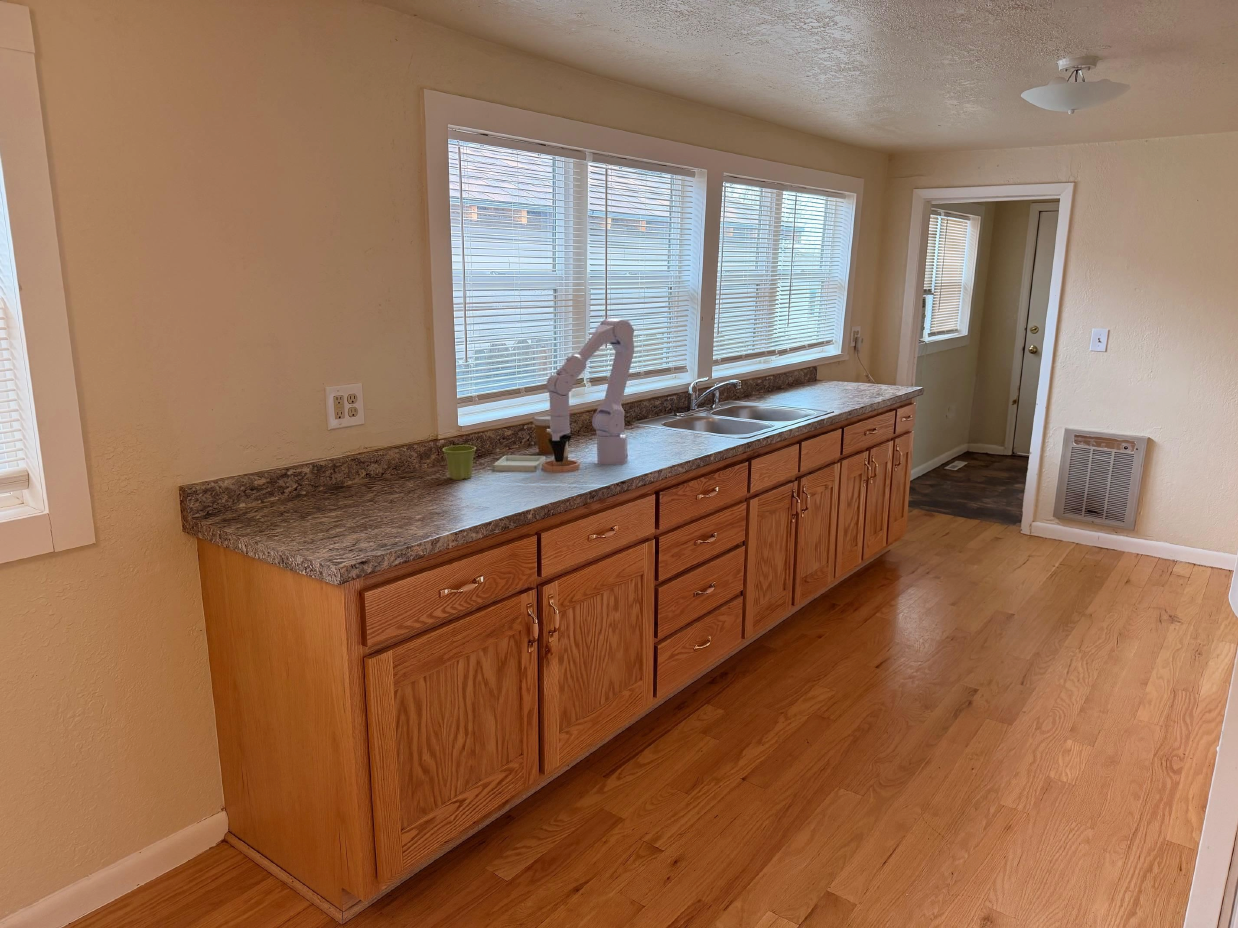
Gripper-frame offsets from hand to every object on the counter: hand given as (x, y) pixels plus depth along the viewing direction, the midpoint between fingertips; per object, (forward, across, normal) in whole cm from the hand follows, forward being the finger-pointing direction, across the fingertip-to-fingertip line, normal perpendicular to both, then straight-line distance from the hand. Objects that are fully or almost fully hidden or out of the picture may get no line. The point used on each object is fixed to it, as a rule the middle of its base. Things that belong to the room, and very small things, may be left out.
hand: (560, 460), depth 255 cm
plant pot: (+3, +13, -27) cm, 30 cm away
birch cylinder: (+2, 0, 0) cm, 2 cm away
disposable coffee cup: (+3, -25, -9) cm, 27 cm away
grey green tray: (+3, -2, -13) cm, 13 cm away
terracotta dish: (+3, 0, 0) cm, 3 cm away
